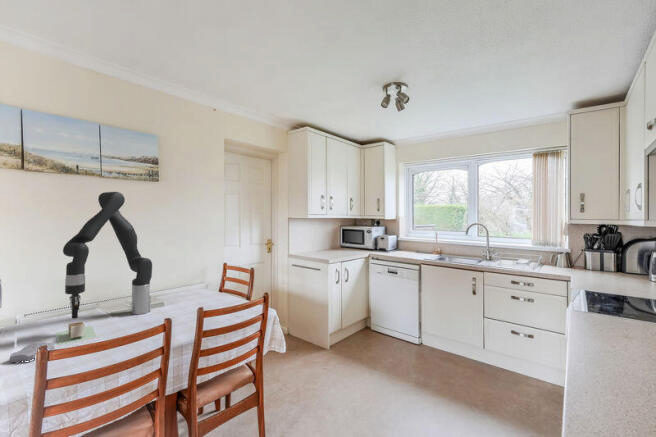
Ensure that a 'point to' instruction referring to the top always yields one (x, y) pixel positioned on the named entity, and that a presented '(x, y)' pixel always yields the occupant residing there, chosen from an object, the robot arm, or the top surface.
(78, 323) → the walnut block
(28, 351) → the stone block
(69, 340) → the sage mat
